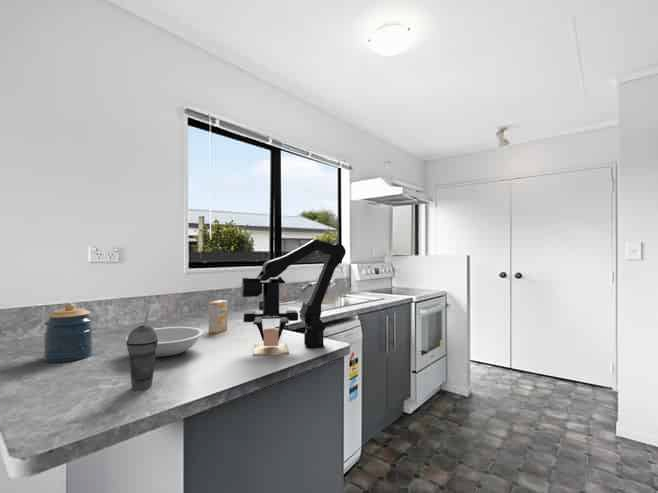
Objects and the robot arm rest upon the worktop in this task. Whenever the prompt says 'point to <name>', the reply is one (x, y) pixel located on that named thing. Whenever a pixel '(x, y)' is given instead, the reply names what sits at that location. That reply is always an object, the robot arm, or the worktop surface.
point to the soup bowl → (175, 339)
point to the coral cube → (271, 337)
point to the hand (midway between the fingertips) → (270, 340)
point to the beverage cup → (142, 355)
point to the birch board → (270, 349)
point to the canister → (68, 335)
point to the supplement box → (218, 316)
